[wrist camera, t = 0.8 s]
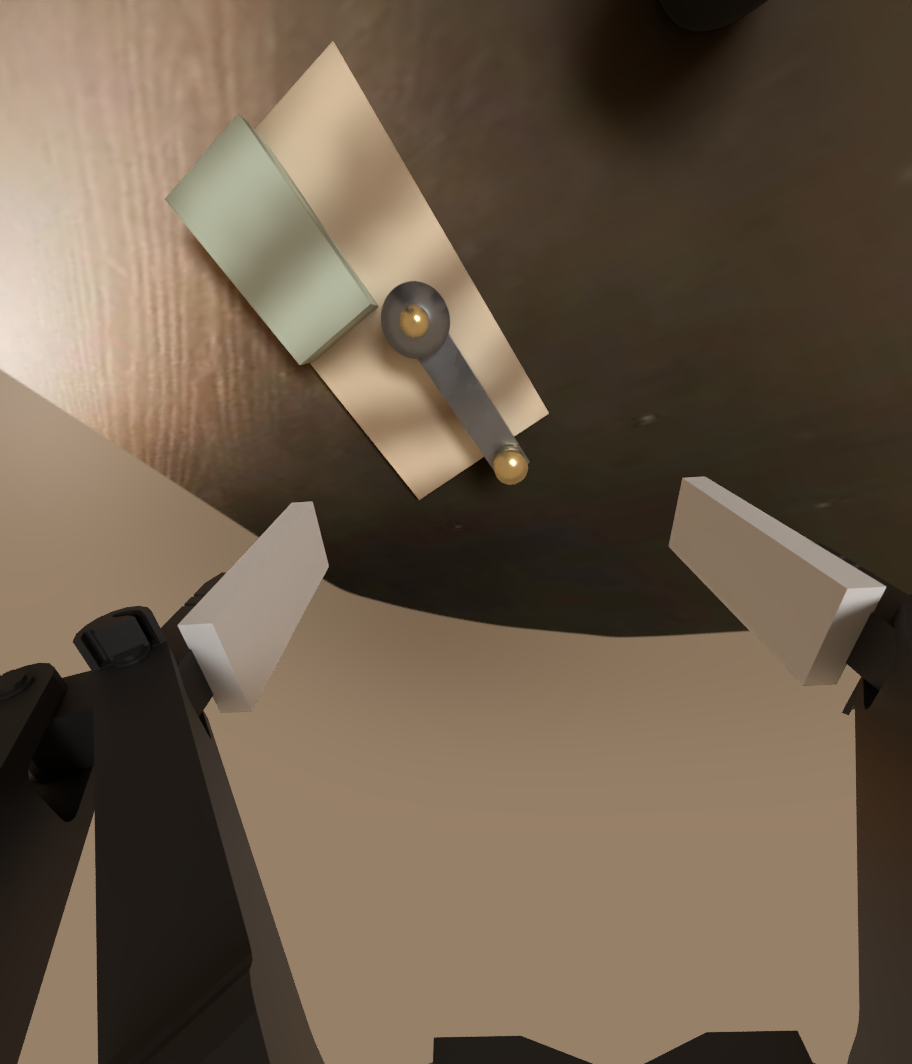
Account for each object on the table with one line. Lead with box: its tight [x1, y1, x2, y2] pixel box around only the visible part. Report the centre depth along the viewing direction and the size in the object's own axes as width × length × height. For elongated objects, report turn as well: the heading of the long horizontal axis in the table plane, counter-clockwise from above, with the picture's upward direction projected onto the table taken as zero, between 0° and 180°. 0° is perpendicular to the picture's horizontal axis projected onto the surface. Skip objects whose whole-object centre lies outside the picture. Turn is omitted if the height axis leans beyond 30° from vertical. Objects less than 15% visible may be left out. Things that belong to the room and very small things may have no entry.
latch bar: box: [381, 281, 530, 484], centre depth 29 cm, size 15×4×5 cm, turn 35°
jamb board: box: [165, 41, 549, 500], centre depth 28 cm, size 25×13×4 cm, turn 35°
